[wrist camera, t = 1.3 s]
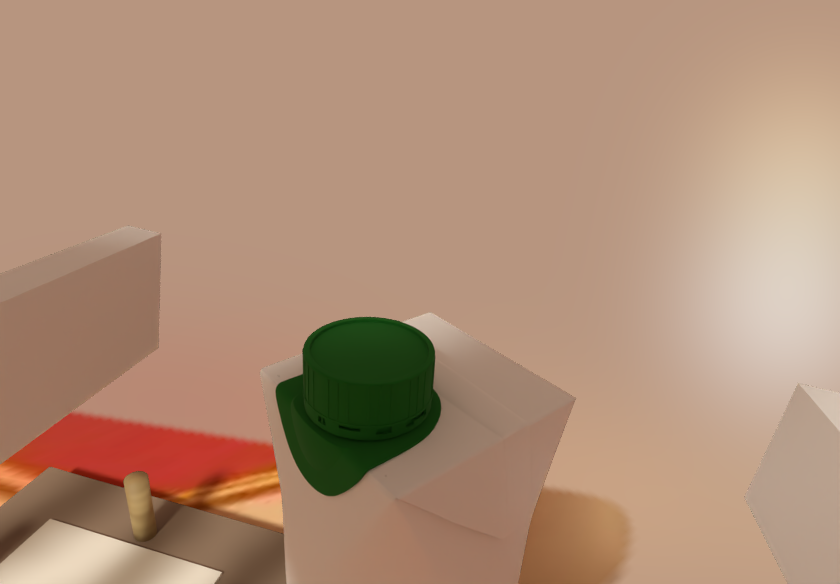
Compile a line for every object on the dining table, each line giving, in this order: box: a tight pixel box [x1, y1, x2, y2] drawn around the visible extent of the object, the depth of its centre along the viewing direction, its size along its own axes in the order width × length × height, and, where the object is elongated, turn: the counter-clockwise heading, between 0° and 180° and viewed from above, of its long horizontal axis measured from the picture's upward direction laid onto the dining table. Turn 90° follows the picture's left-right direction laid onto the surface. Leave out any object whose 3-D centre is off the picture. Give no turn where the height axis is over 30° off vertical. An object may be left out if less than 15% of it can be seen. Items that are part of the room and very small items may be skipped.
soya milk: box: [260, 313, 575, 584], centre depth 24 cm, size 9×9×20 cm
